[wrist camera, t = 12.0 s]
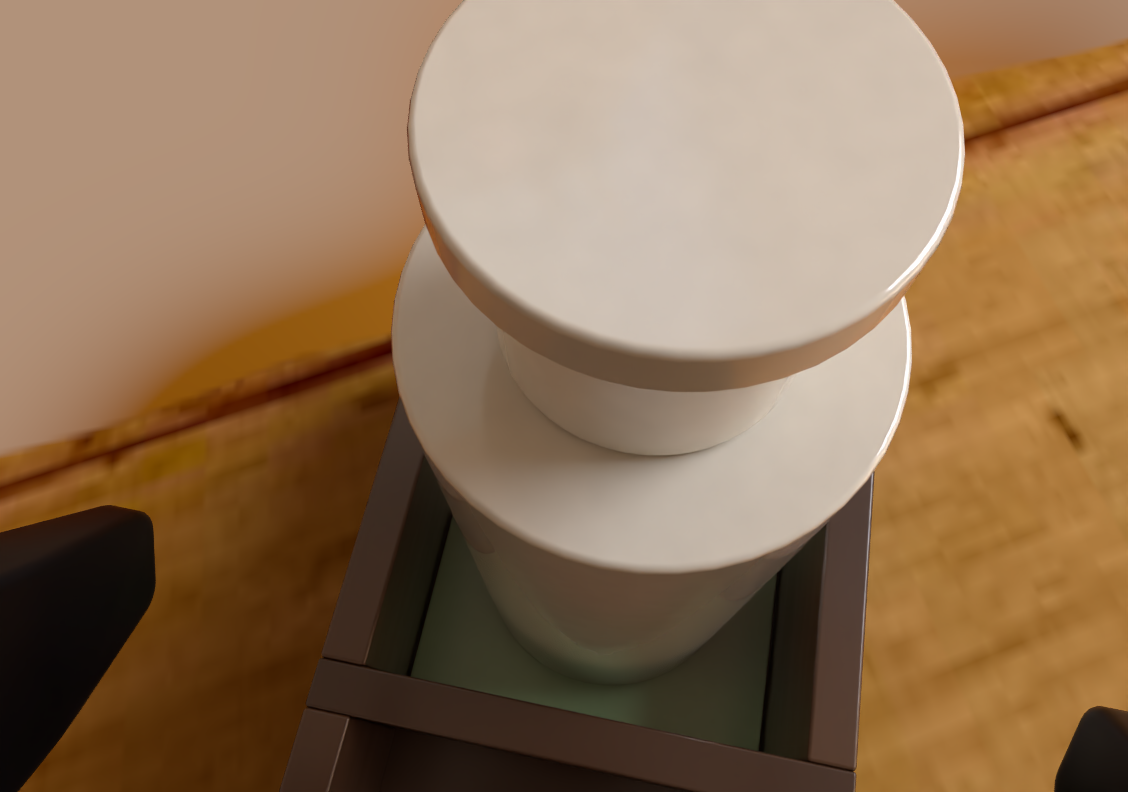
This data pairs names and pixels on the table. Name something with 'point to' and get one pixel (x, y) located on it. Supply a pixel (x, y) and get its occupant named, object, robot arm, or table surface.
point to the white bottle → (663, 297)
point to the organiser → (557, 703)
